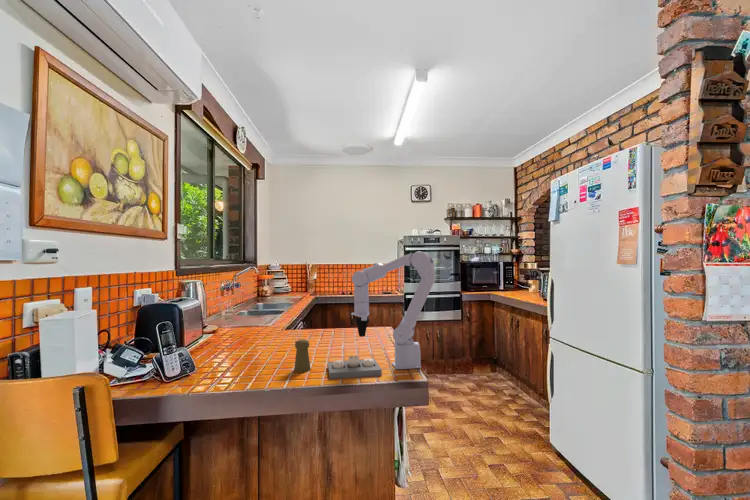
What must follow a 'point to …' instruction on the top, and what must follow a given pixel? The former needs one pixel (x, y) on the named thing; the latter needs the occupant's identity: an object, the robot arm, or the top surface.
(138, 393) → the top surface
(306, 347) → the cork
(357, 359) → the button
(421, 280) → the robot arm
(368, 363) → the button
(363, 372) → the button panel
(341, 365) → the button
